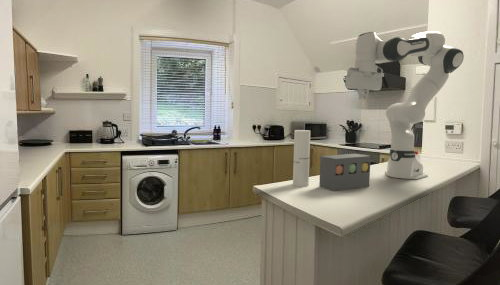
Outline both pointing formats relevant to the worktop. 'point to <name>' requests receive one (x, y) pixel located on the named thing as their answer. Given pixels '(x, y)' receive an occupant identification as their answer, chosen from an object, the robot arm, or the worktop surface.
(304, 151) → the cylindrical container
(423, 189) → the worktop surface
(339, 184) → the control panel
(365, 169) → the ochre button
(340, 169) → the terracotta button
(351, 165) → the sage green button
